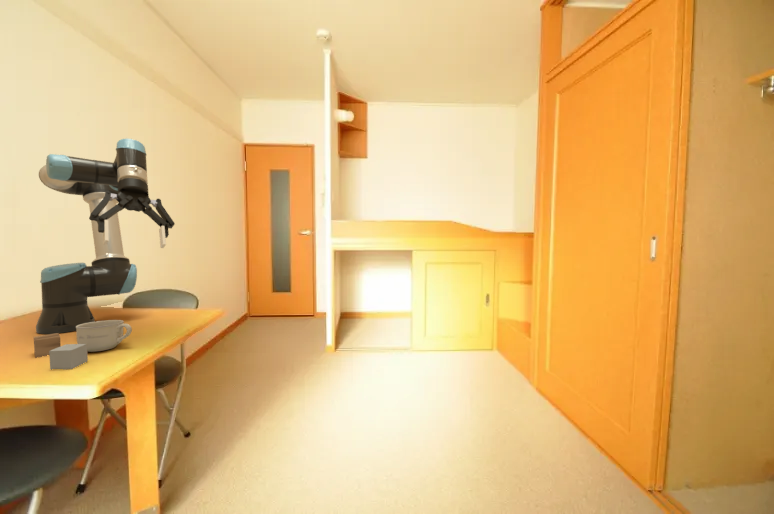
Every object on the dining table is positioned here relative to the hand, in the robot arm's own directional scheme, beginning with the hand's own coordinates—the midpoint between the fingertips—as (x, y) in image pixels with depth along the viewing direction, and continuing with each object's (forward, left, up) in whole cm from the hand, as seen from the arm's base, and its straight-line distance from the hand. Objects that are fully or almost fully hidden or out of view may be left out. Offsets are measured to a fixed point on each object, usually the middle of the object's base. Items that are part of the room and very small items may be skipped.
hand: (136, 244), depth 95 cm
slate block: (-6, -14, -32) cm, 35 cm away
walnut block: (-22, -9, -32) cm, 39 cm away
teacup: (-10, -2, -32) cm, 33 cm away
